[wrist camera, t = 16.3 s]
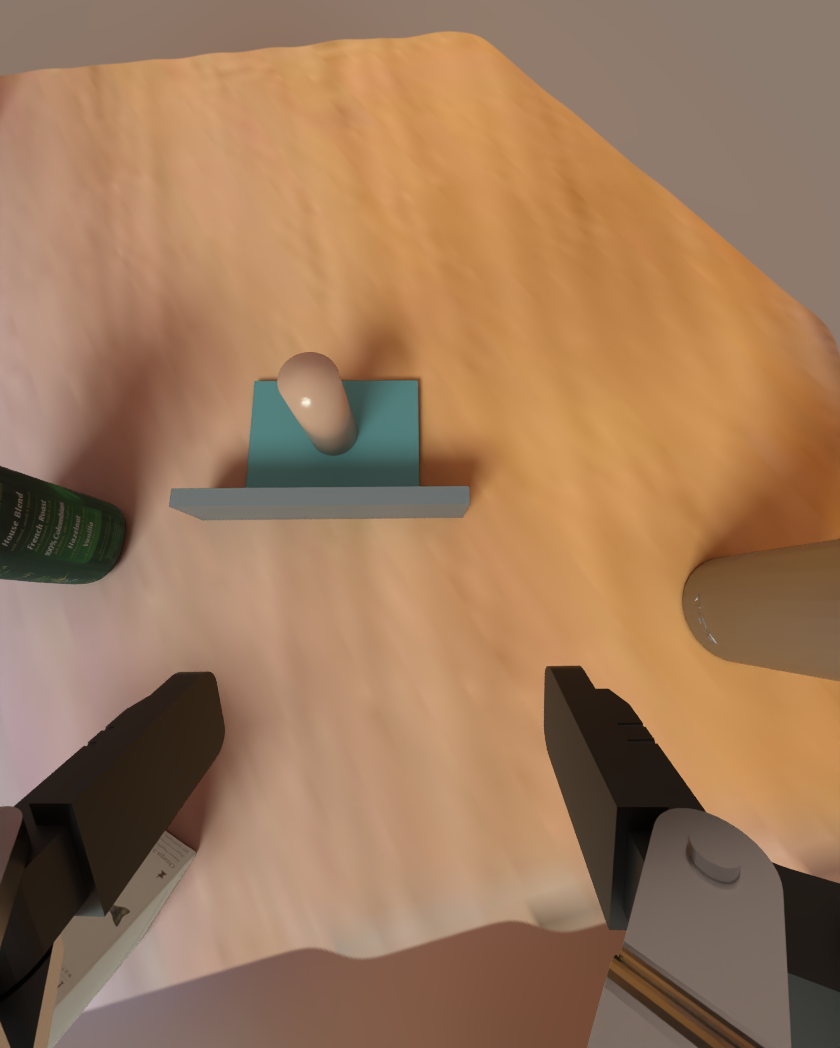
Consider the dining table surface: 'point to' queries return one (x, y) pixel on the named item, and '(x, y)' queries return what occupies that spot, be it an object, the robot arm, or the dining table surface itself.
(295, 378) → the tan domed capsule
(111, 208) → the dining table surface
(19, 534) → the coffee jar
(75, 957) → the supplement box
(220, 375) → the dining table surface
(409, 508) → the low wall
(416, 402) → the teal mat
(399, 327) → the dining table surface
